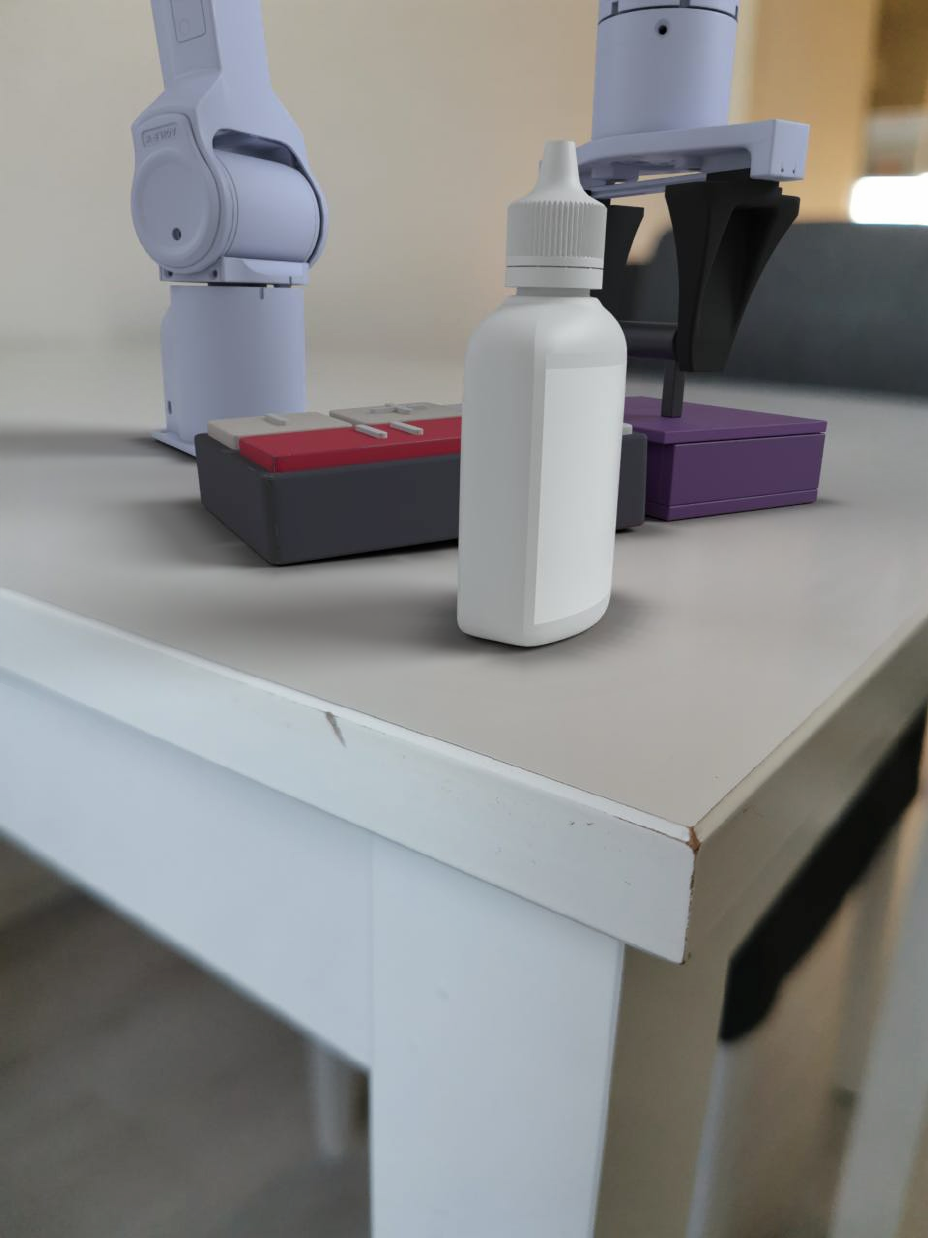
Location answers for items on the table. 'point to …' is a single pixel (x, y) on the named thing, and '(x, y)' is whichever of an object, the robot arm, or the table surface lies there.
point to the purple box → (731, 475)
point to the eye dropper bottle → (542, 425)
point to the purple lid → (692, 420)
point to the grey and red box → (355, 479)
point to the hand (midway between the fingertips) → (641, 365)
